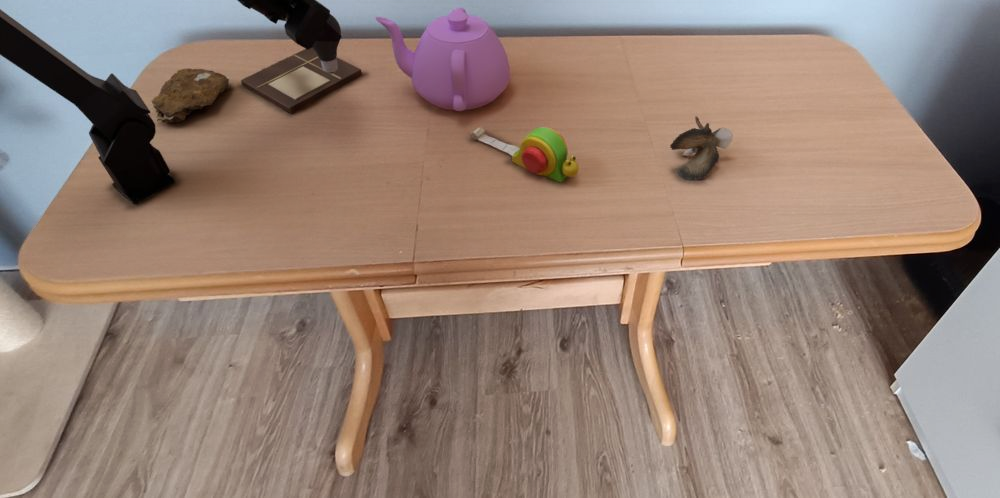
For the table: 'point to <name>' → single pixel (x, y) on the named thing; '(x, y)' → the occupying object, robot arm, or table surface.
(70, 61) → the robot arm
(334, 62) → the light bulb
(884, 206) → the table surface
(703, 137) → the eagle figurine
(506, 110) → the table surface
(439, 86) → the teapot
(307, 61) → the picture frame
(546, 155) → the toy measuring tape
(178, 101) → the decorative rock
